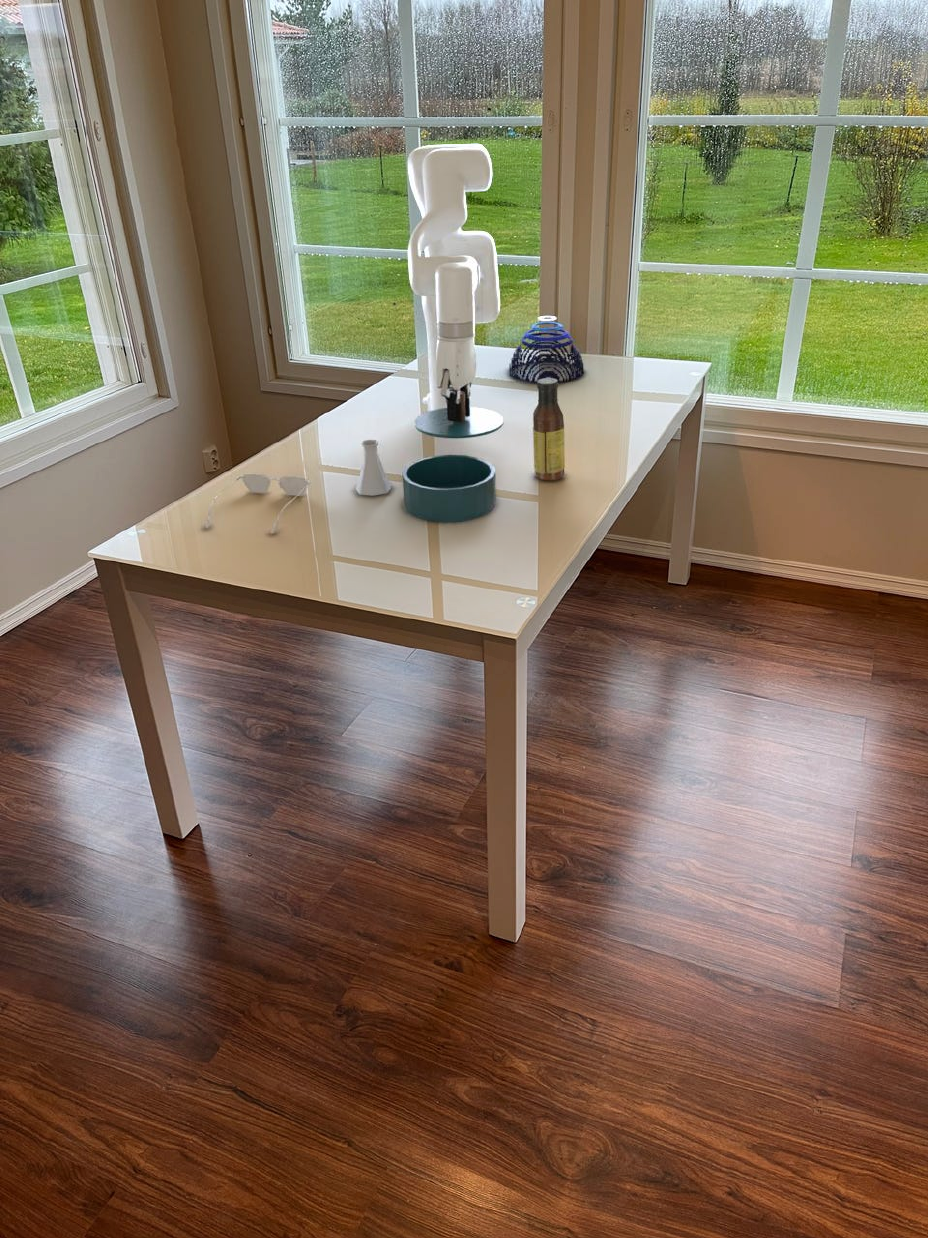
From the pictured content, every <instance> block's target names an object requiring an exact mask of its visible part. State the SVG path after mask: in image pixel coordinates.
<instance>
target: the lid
mask: <svg viewBox="0 0 928 1238" xmlns="http://www.w3.org/2000/svg"><path fill="white" fill-rule="evenodd" d="M452 393H454V394H455V391H453V392H452ZM460 403H462V421H461V422H454V421H449V420H448V419H447V408H442V409H437V410H433V411H429V412H427V411H426V412H427V413H426V412H425V413H422V414H421V415H418V416H417V417H416V419H415V420H414V427H415V429H416V430H417V432H419V433H422V434H423V435H427V436H431V437H433V438H439V439H471V438H478V437H482V436H486V435H489V434H492V433H494V432H496V431H498V430H500V429H501V428H502V427H503V425H504V418H503V416H502V415H501V414H500V413H498V412H495V411H493V410H490V409H487V408H481V407H475V406H474V407H472V406H470V416H469V417H466V415H465V392H464V391H460Z"/></svg>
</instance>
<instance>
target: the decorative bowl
mask: <svg viewBox="0 0 928 1238" xmlns="http://www.w3.org/2000/svg"><path fill="white" fill-rule="evenodd" d="M537 321H540V322H536V323H533V324H532V325H531V329H529V330H526V331H527V332H525V333H524V335H523V336H522V338H521V344H519V345H518V346H517V348H516V349H515V350H514V352H513V356H512V358H511V359H510V360H511V361H510V363H508V364H509V367H508V369H509V370H508V372H509V376H510V377H511V378H512V379H515V380H518V381H520V382H524V383H530V384H537V381H538V380H540V379H544V378H553V379H556V380H558V384H560V383H561V384H562V383H567V382H571V381H574V380H577V379H580V378H581V377H583V375H584V374H585V371H584V362H583V361H584V360H583V358H582V354H581V353H580V352H579V349H578V348H577V347H576V345H575V344H574V339H573V338H572V337H571V336H570V333H569V332H568V331H567V330H566V329H563V328H564V325H562V324H561V323H558V322H556V321H557V316H553V315H543V316H539V317H537ZM540 325H554V326H555V327H538V326H540ZM543 335H544V336H543ZM545 335H549V336H550V337H547V336H545ZM526 339H527V340H529V341H532V342H528V341H526ZM566 339H568V340H567V341H565V342H560V341H563V340H566ZM522 345H523V346H525V348H524V349H522ZM568 346H570V349H569V350H570V352H569V351H568V348H566V347H568ZM530 351H531V352H530ZM541 352H542V353H541ZM543 352H548V353H543ZM527 355H528V356H527ZM531 364H532V365H531ZM523 366H524V367H523ZM544 366H546V367H544ZM567 366H568V367H567ZM545 369H547V370H545ZM549 369H550V370H549ZM551 369H553V370H551ZM555 371H556V372H557V373H556V372H555ZM540 372H541V373H540ZM558 374H559V375H558ZM567 376H568V377H567ZM560 378H562V380H561V379H560Z"/></svg>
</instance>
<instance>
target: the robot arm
mask: <svg viewBox="0 0 928 1238" xmlns="http://www.w3.org/2000/svg"><path fill="white" fill-rule="evenodd" d="M490 157H491V156H490V154H489V151H488V150H487V149H486V147H484V146H483V144H480V143H463V144H461V143H460V144H458V143H457V144H433V145H432V144H431V145H425V146H420V147H417V148H415V149H413V150H412V151H411V152H410V153H409V154H408V158H407V175H408V180H409V184H410V188H411V191H412V194H413V197H414V200H415V202H416V204H417V207H418V209H419V212H420V215H421V220H420V221H419V222H418V224H417V225H415V227H414V230H413V231H412V233H411V235H410V237H409V241H408V245H407V267H408V280H409V285H410V288H411V291H412V292H413V293H414V294H415V295H417V296H419V297H421V306H422V312H423V318H424V323H425V329H426V340H427V342H426V343H427V358H428V361H427V362H428V382H429V392H428V393H427V394H426V395H425V397H423V398H422V400H421V403H422V404H423V405H426V406H427V410H426V411H425V413H427V412H429V411H433V410H437V409H442V408H447V419H448V420H449V421H454V422H461V421H462V403H460V391H464V392H465V415H466V417H469V416H470V407H471V388H472V384H473V382H474V380H475V379H476V375H477V357H476V355H477V354H476V344H475V337H476V324H488V323H492V322H495V321H496V320H497V319H498V317H499V315H500V311H501V297H500V296H501V295H500V284H499V283H500V282H499V270H498V258H497V257H498V256H497V249H496V244H495V240H494V238H493V237H492V235H491V234H489V232H487V231H482V230H468V231H467V230H466V231H464V230H462V227H463V226H464V225H465V224H466V221H467V218H468V210H467V199H466V193H471V192H472V193H473V192H486V191H488V189H490V187H491V184H492V179H493V165H492V160H491V158H490ZM423 251H424V256H422V252H423ZM453 391H455V394H454V393H452V392H453Z"/></svg>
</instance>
